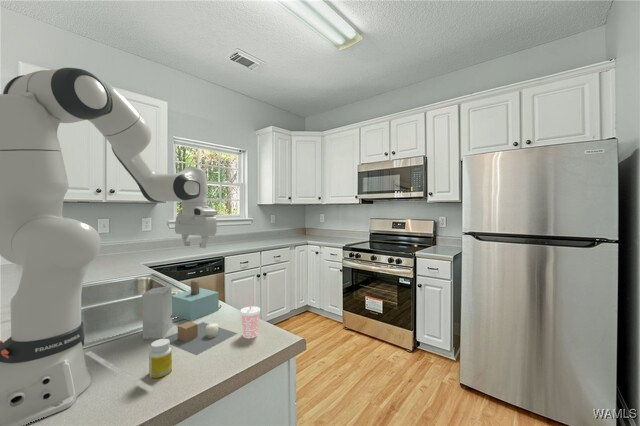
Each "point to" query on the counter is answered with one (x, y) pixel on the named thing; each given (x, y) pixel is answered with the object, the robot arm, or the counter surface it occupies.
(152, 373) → the supplement bottle
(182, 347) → the mat
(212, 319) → the counter surface
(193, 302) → the cover
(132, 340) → the counter surface
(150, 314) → the skincare box
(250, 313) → the beverage cup
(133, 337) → the counter surface
